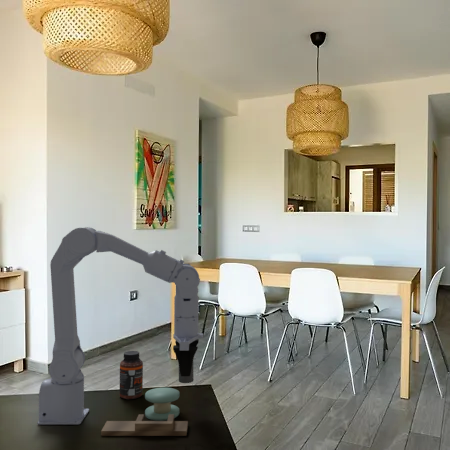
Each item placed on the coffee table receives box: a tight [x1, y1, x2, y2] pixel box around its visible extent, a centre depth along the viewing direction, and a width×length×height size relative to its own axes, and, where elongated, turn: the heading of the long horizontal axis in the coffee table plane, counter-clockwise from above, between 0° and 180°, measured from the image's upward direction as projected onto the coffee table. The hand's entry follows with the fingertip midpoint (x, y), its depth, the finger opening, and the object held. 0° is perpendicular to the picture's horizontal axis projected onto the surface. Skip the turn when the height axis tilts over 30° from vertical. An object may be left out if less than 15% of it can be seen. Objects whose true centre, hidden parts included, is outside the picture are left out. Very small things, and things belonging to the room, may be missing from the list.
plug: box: [178, 357, 195, 384], centre depth 112 cm, size 4×4×6 cm
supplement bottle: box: [119, 350, 144, 400], centre depth 122 cm, size 6×6×11 cm
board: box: [100, 413, 189, 437], centre depth 102 cm, size 18×5×2 cm, turn 91°
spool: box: [144, 387, 180, 421], centre depth 111 cm, size 8×8×5 cm
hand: (186, 373), depth 112 cm, fingers closed on plug, 4 cm apart
